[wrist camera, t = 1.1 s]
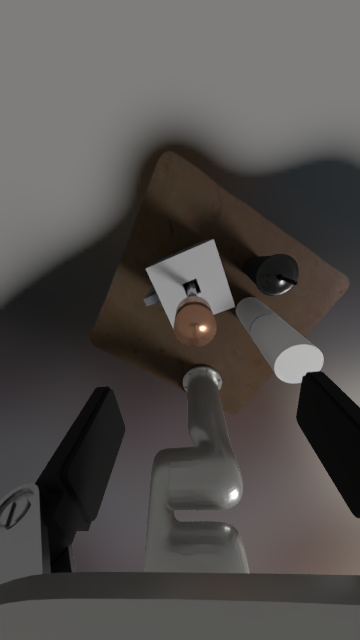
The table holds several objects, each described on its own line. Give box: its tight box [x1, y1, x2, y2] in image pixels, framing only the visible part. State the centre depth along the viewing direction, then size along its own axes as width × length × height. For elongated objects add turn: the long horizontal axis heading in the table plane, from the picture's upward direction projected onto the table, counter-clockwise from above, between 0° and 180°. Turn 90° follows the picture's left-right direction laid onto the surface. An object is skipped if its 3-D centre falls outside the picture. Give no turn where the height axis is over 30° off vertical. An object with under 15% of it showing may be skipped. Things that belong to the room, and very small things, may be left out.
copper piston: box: [174, 279, 217, 347], centre depth 28 cm, size 9×9×23 cm
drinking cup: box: [244, 254, 299, 296], centre depth 38 cm, size 8×8×20 cm
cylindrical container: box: [236, 297, 324, 383], centre depth 40 cm, size 7×7×25 cm
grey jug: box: [144, 239, 235, 329], centre depth 41 cm, size 16×12×17 cm
